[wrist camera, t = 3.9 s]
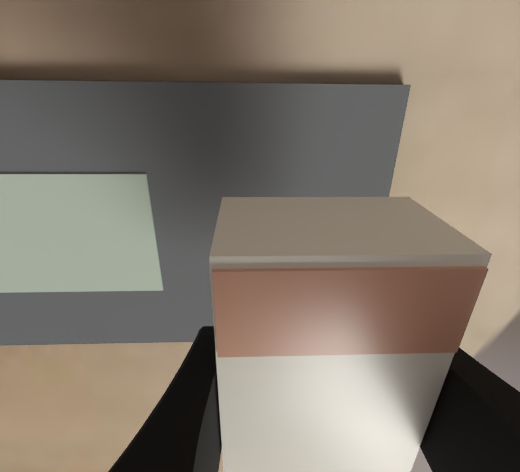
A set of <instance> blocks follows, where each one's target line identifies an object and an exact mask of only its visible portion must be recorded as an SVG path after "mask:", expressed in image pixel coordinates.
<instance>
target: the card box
mask: <svg viewBox="0 0 520 472" xmlns="http://www.w3.org/2000/svg"><path fill="white" fill-rule="evenodd" d="M491 255H492V254H491V253H489V252H488V251H486V250H485V249H484V248H482V247H481V246H479V245H478V244H476V243H475V242H473V241H472V240H471V239H469V238H468V237H466V236H465V235H463V234H462V233H460V232H459V231H457V230H456V229H455V228H453V227H452V226H450V225H449V224H447V223H446V222H444V221H443V220H441V219H440V218H439V217H437V216H436V215H434V214H433V213H431V212H430V211H428V210H427V209H426V208H424V207H423V206H421V205H420V204H418V203H417V202H415V201H414V200H412V199H411V198H410V197H222V201H221V205H220V210H219V214H218V219H217V223H216V228H215V232H214V237H213V241H212V246H211V250H210V255H209V263H210V278H211V293H212V308H213V322H214V337H215V352H216V367H217V382H218V396H219V411H220V426H221V441H222V456H223V470H224V472H410V471H411V469H412V466H413V463H414V461H415V458H416V456H417V453H418V450H419V447H420V445H421V442H422V439H423V437H424V434H425V431H426V429H427V426H428V423H429V421H430V418H431V415H432V413H433V410H434V407H435V405H436V402H437V399H438V397H439V394H440V391H441V389H442V386H443V383H444V381H445V378H446V375H447V373H448V370H449V367H450V364H451V362H452V359H453V356H454V354H455V352H457V351H458V348H459V346H460V343H461V340H462V338H463V335H464V332H465V330H466V327H467V324H468V322H469V319H470V316H471V314H472V311H473V308H474V306H475V303H476V301H477V298H478V295H479V293H480V290H481V287H482V285H483V282H484V279H485V277H486V274H487V271H488V269H487V265H488V263H489V260H490V257H491Z"/></svg>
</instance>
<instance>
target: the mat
mask: <svg viewBox="0 0 520 472" xmlns="http://www.w3.org/2000/svg"><path fill="white" fill-rule="evenodd" d="M409 91H410V85H381V84H297V83H214V82H131V81H48V80H0V345H47V344H100V343H153V342H194V340H195V338H196V336H197V334H198V332H199V329H201V328H202V327H203V326H214V322H213V308H212V293H211V278H210V263H209V255H210V250H211V246H212V241H213V237H214V232H215V228H216V223H217V219H218V214H219V210H220V205H221V201H222V197H389V193H390V188H391V183H392V177H393V172H394V167H395V162H396V157H397V152H398V147H399V142H400V137H401V131H402V126H403V121H404V116H405V111H406V106H407V101H408V96H409Z"/></svg>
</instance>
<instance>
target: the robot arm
mask: <svg viewBox="0 0 520 472" xmlns="http://www.w3.org/2000/svg"><path fill="white" fill-rule="evenodd" d="M221 447H222V441H221V426H220V411H219V396H218V382H217V367H216V352H215V337H214V326H203V327H202V328H201V329H199V332H198V334H197V336H196V338H195V340H194V342H193V344H192V346H191V348H190V350H189V352H188V354H187V356H186V358H185V360H184V361H183V363H182V365H181V367H180V368H179V370H178V372H177V373H176V375H175V377H174V378H173V380H172V382H171V383H170V385H169V387H168V388H167V390H166V392H165V393H164V395H163V396H162V398H161V399H160V401H159V402H158V404H157V405H156V407H155V408H154V410H153V411H152V413H151V414H150V416H149V417H148V419H147V420H146V421H145V423H144V424H143V426H142V427H141V429H140V430H139V432H138V433H137V434H136V436H135V437H134V439H133V440H132V441H131V443H130V444H129V445H128V447H127V448H126V449H125V451H124V452H123V453H122V455H121V456H120V457H119V459H118V460H117V461H116V462H115V464H114V465H113V466H112V468H111V469H110V470H109V471H108V472H218V469H219V462H220V455H221ZM420 447H421V449H422V451H423V454H424V455H425V458H426V459H427V462H428V464H429V466H430V468H431V470H432V471H433V472H520V392H519V391H518V390H516V389H515V388H513V387H512V386H510V385H509V384H508V383H506V382H505V381H504V380H502V379H501V378H499V377H498V376H497V375H495V374H494V373H492V372H491V371H489V370H488V369H487V368H486V367H484V366H483V365H481V364H480V363H479V362H478V361H476V360H475V359H474V358H472V357H471V356H470V355H468V354H467V353H466V352H464V351H463V350H462V349H460V348H458V351H457V352H455V354H454V356H453V359H452V362H451V364H450V367H449V370H448V373H447V375H446V378H445V381H444V383H443V386H442V389H441V391H440V394H439V397H438V399H437V402H436V405H435V407H434V410H433V413H432V415H431V418H430V421H429V423H428V426H427V429H426V431H425V434H424V437H423V439H422V442H421V445H420Z"/></svg>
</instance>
